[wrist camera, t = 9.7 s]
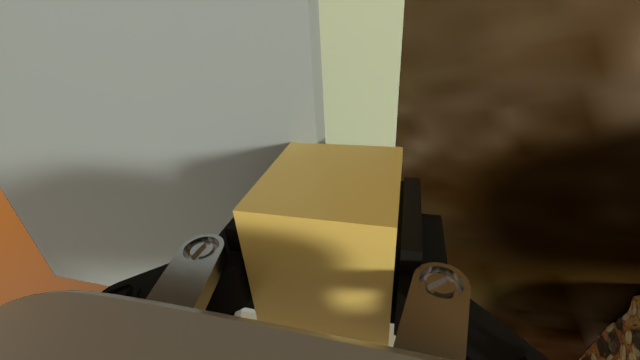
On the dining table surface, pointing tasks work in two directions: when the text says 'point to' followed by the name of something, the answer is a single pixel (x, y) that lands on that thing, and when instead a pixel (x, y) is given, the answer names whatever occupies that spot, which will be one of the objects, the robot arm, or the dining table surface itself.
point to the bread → (619, 338)
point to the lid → (195, 152)
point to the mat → (361, 70)
